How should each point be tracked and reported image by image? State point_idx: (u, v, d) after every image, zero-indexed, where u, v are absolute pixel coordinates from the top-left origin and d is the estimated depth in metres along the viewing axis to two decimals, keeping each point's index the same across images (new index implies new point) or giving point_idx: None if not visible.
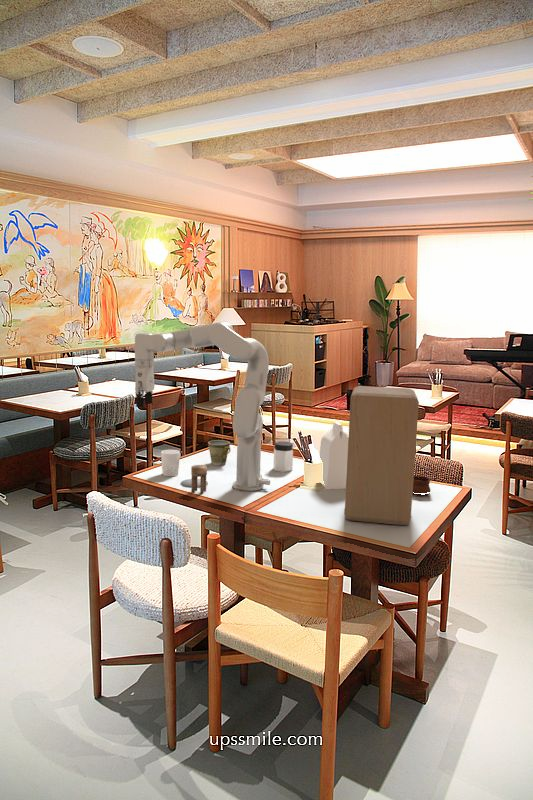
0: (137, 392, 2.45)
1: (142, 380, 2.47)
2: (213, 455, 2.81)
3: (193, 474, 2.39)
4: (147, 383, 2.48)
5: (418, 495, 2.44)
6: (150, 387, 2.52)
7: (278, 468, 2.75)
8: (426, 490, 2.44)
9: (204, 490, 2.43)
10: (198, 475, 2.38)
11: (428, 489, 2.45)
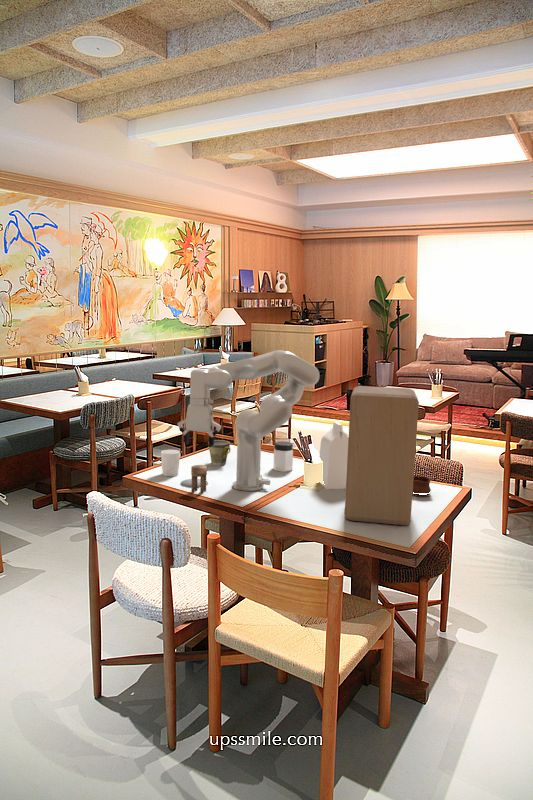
0: (218, 431, 2.37)
1: (212, 418, 2.37)
2: (213, 455, 2.81)
3: (193, 474, 2.39)
4: None
5: (418, 495, 2.44)
6: None
7: (278, 468, 2.75)
8: (426, 491, 2.44)
9: (204, 490, 2.43)
10: (198, 475, 2.38)
11: (428, 489, 2.45)
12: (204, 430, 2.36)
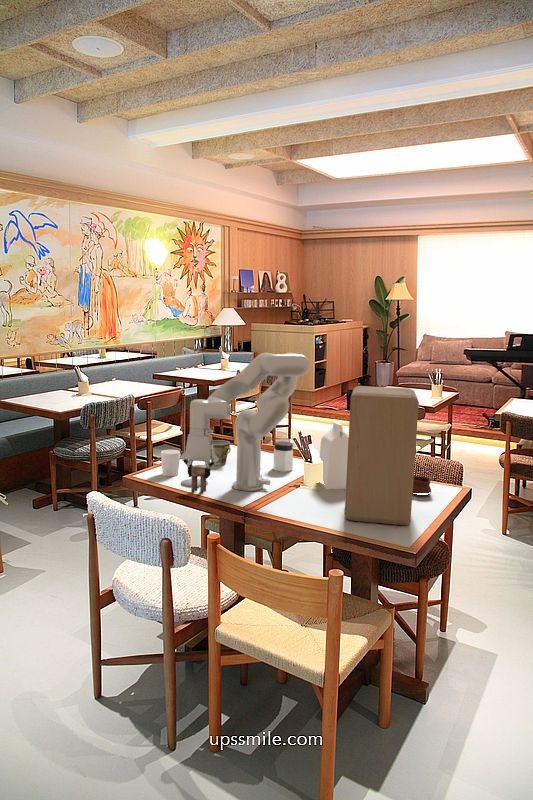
0: None
1: (212, 447, 2.39)
2: None
3: (193, 474, 2.39)
4: None
5: (418, 495, 2.44)
6: None
7: (278, 468, 2.75)
8: (426, 491, 2.43)
9: (204, 490, 2.43)
10: (198, 475, 2.38)
11: (428, 489, 2.44)
12: (204, 460, 2.37)
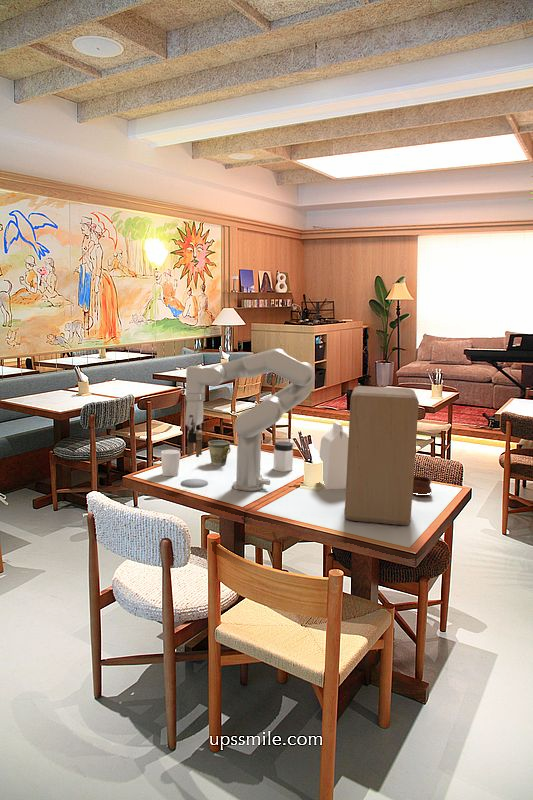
0: None
1: None
2: (213, 455, 2.81)
3: (199, 438, 2.48)
4: None
5: (418, 496, 2.44)
6: None
7: (278, 468, 2.75)
8: (426, 491, 2.43)
9: None
10: None
11: (429, 490, 2.44)
12: (201, 421, 2.51)
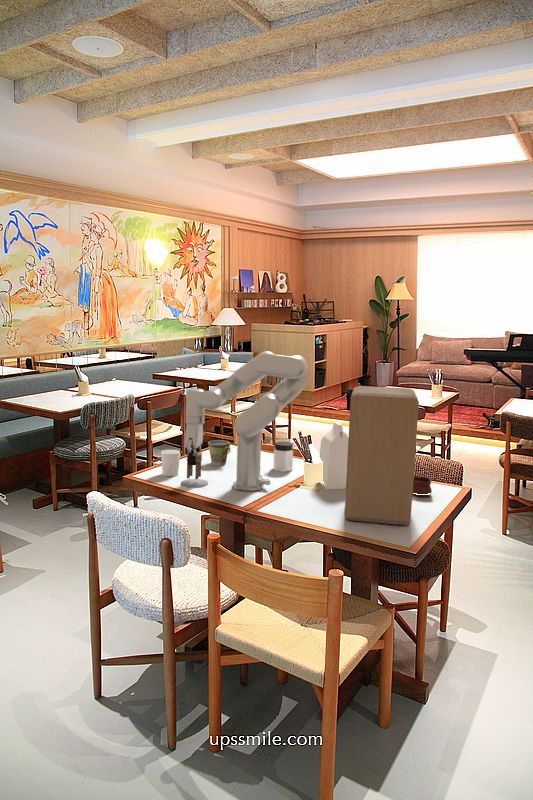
0: None
1: None
2: (213, 455, 2.81)
3: (199, 460, 2.49)
4: None
5: (419, 496, 2.43)
6: None
7: (278, 468, 2.75)
8: (426, 491, 2.43)
9: (192, 474, 2.54)
10: (201, 459, 2.51)
11: (429, 490, 2.44)
12: (201, 443, 2.52)
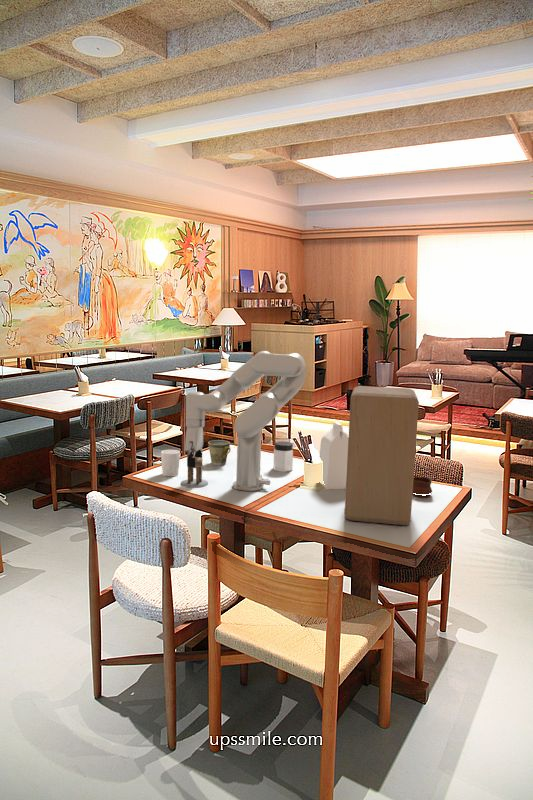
0: None
1: None
2: (213, 455, 2.81)
3: (199, 466, 2.49)
4: None
5: (419, 496, 2.43)
6: None
7: (278, 468, 2.75)
8: (427, 491, 2.43)
9: None
10: None
11: (429, 490, 2.44)
12: (201, 447, 2.53)
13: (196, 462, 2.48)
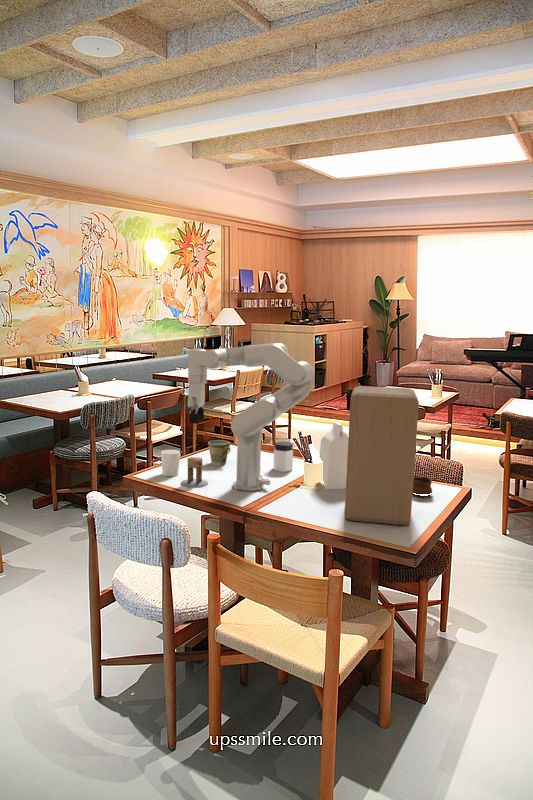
0: None
1: None
2: (213, 455, 2.81)
3: (199, 466, 2.49)
4: None
5: (419, 496, 2.43)
6: None
7: (278, 468, 2.75)
8: (426, 492, 2.42)
9: None
10: None
11: (429, 490, 2.43)
12: (203, 404, 2.54)
13: (196, 462, 2.48)
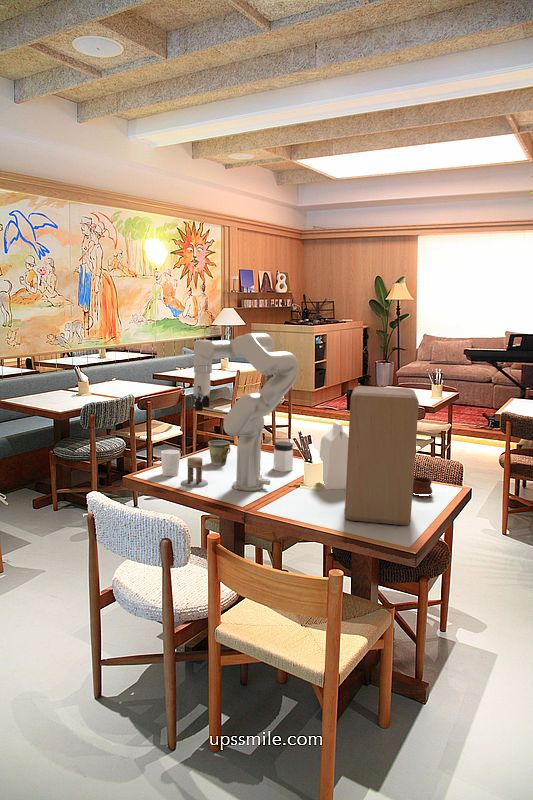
0: None
1: None
2: (213, 455, 2.81)
3: (199, 466, 2.49)
4: None
5: (417, 496, 2.43)
6: None
7: (278, 468, 2.75)
8: (425, 492, 2.42)
9: None
10: None
11: (428, 491, 2.43)
12: (208, 393, 2.65)
13: (196, 462, 2.48)
